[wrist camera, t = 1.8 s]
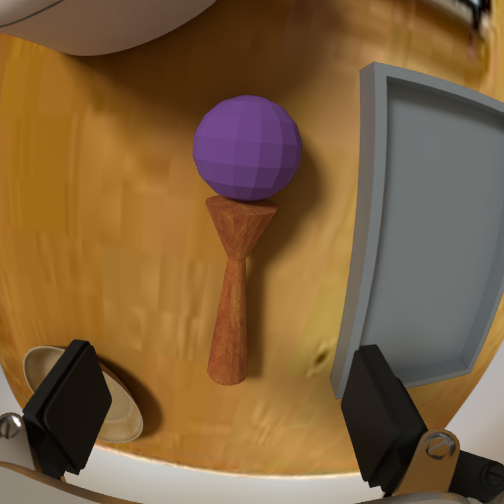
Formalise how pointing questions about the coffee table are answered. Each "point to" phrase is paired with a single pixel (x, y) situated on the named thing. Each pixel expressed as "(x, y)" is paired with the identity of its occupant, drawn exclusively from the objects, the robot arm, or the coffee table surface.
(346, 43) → the coffee table surface
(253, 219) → the kendama
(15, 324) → the coffee table surface
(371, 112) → the tray
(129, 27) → the container
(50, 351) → the plant saucer
